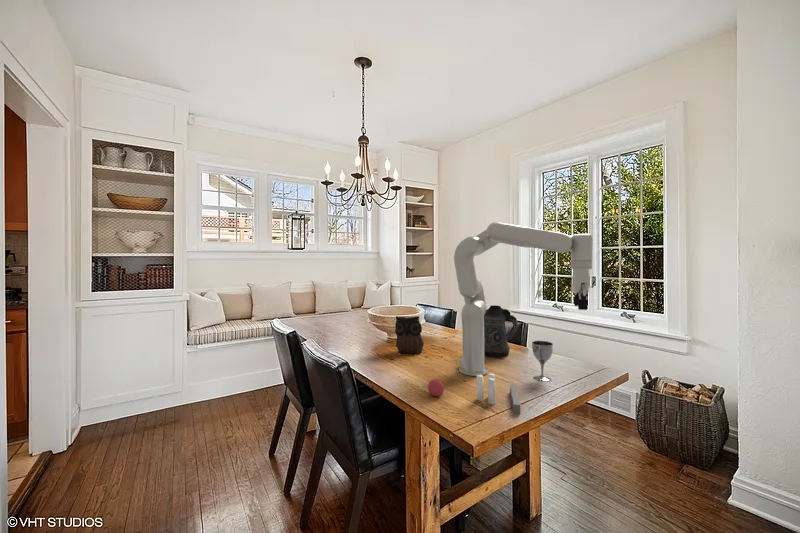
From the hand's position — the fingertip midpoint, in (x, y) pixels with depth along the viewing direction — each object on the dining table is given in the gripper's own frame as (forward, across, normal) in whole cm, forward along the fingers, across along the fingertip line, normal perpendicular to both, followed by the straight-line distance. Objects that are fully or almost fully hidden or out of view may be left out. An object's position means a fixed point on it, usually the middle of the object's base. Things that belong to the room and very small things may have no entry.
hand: (580, 307), depth 141 cm
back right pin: (+31, +30, -32) cm, 54 cm away
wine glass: (+31, -1, -14) cm, 34 cm away
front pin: (+31, +28, -37) cm, 55 cm away
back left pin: (+31, +25, -33) cm, 52 cm away
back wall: (+31, +27, -25) cm, 48 cm away
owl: (+31, -24, -78) cm, 88 cm away
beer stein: (+31, -34, -34) cm, 57 cm away
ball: (+28, +29, -53) cm, 66 cm away
